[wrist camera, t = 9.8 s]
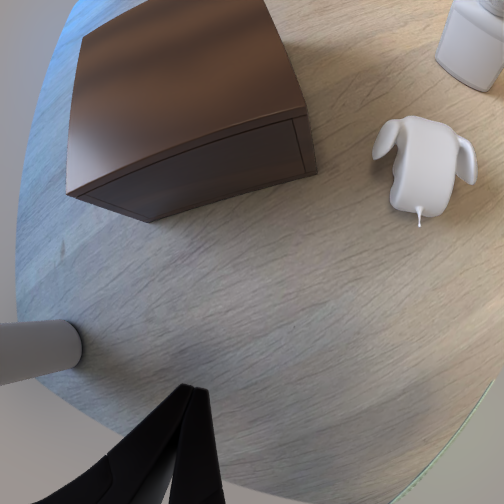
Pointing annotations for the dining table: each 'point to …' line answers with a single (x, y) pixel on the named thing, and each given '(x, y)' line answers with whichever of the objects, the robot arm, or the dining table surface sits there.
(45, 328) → the beverage can
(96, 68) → the lid
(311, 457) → the dining table surface
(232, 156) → the box
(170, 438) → the robot arm
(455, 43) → the eye dropper bottle
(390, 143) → the elephant figurine
